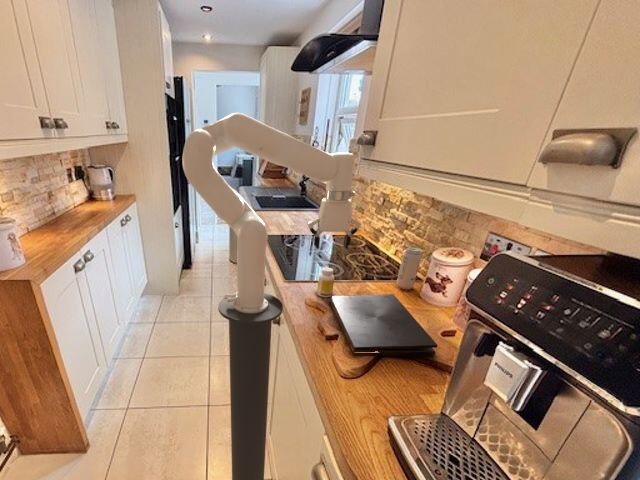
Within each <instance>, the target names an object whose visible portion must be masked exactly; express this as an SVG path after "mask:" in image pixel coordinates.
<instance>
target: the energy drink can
mask: <svg viewBox="0 0 640 480" xmlns="http://www.w3.org/2000/svg"><path fill="white" fill-rule="evenodd" d="M422 257H423V253H422V249H421V248H419V247H415V246H407V247H406V249H405V250H404V251H403V254H402V258H401V262H400V267H399V270H398V275H397V279H396V286H397V287H398V288H399V289H403V290H411V289H412V288H413V287H415V282H416V279H417V275H418V271H419V267H420V263H421V261H422Z"/></svg>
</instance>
